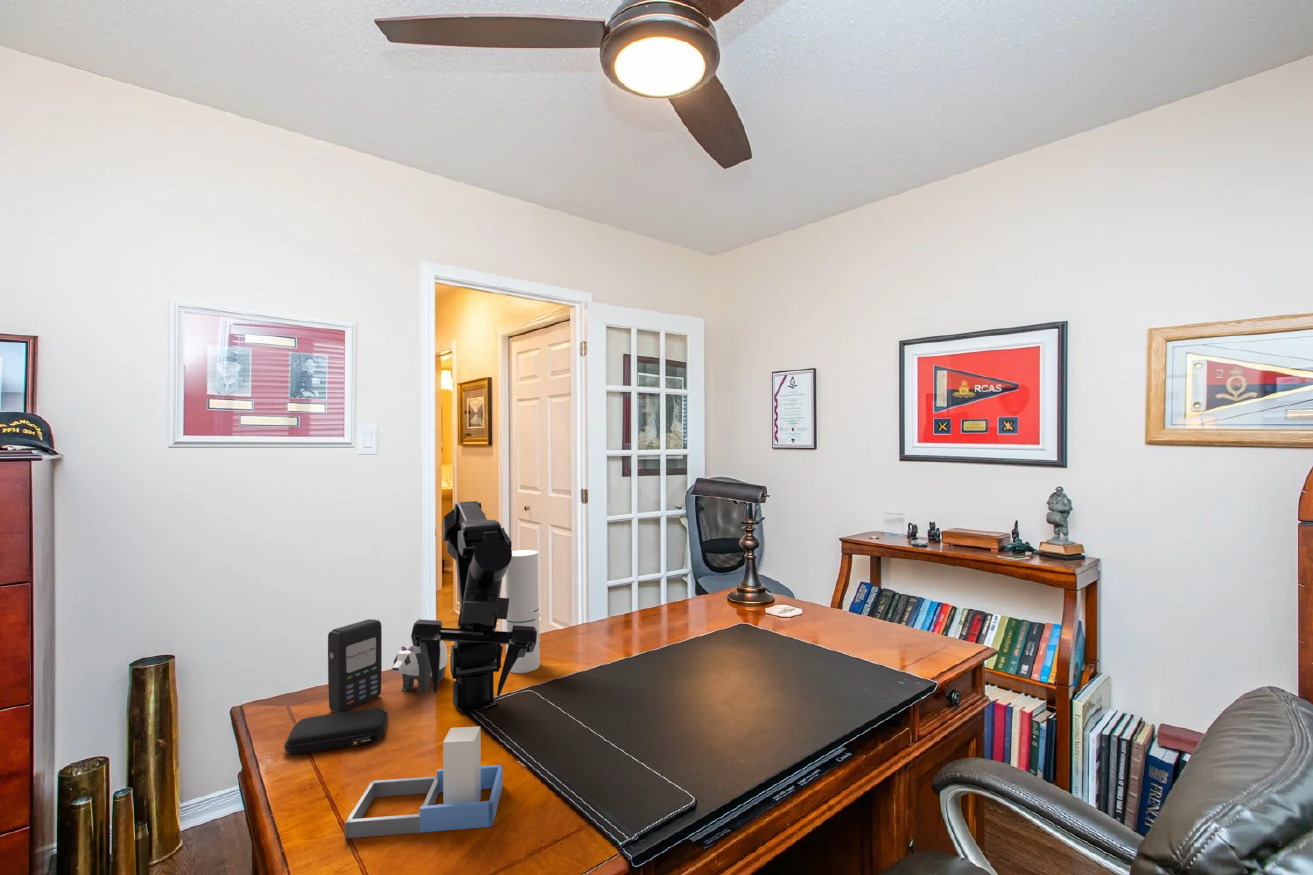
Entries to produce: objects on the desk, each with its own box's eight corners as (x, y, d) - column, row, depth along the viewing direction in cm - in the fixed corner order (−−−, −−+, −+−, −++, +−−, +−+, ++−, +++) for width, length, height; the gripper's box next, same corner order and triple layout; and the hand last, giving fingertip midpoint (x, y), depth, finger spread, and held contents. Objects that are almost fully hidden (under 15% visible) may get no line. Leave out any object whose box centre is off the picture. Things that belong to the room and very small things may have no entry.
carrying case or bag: (279, 765, 92) (383, 747, 97) (279, 745, 92) (383, 729, 97) (295, 733, 102) (388, 719, 107) (295, 715, 102) (388, 702, 107)
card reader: (338, 716, 108) (338, 633, 108) (325, 711, 110) (325, 630, 110) (383, 697, 116) (383, 620, 116) (370, 693, 118) (370, 617, 118)
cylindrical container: (545, 662, 133) (543, 550, 133) (528, 674, 126) (526, 556, 126) (517, 659, 135) (516, 549, 135) (499, 670, 128) (498, 555, 128)
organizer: (345, 838, 74) (345, 814, 74) (371, 794, 83) (371, 773, 83) (492, 826, 76) (492, 803, 76) (502, 785, 86) (502, 764, 86)
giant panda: (426, 672, 128) (426, 628, 128) (450, 674, 126) (449, 629, 126) (382, 702, 113) (381, 652, 113) (408, 704, 112) (407, 654, 112)
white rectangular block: (451, 799, 82) (450, 727, 82) (480, 798, 83) (480, 726, 83) (443, 818, 78) (443, 742, 78) (474, 816, 79) (474, 740, 79)
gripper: (420, 570, 90) (396, 679, 81) (544, 580, 94) (534, 685, 85) (423, 595, 99) (402, 696, 90) (537, 603, 103) (527, 700, 94)
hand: (467, 694), depth 89 cm, fingers open, 9 cm apart
